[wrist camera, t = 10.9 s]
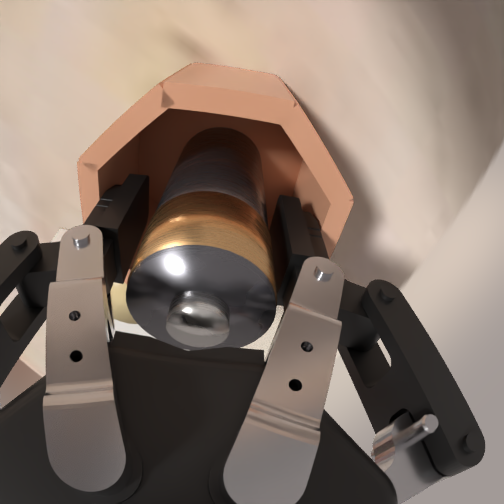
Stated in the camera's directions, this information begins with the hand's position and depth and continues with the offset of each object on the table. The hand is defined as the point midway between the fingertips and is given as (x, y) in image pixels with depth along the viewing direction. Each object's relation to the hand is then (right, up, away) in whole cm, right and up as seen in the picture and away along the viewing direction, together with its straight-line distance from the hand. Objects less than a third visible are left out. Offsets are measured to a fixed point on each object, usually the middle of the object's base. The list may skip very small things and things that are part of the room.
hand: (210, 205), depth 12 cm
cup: (0, +3, +4) cm, 5 cm away
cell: (0, +2, +3) cm, 4 cm away
